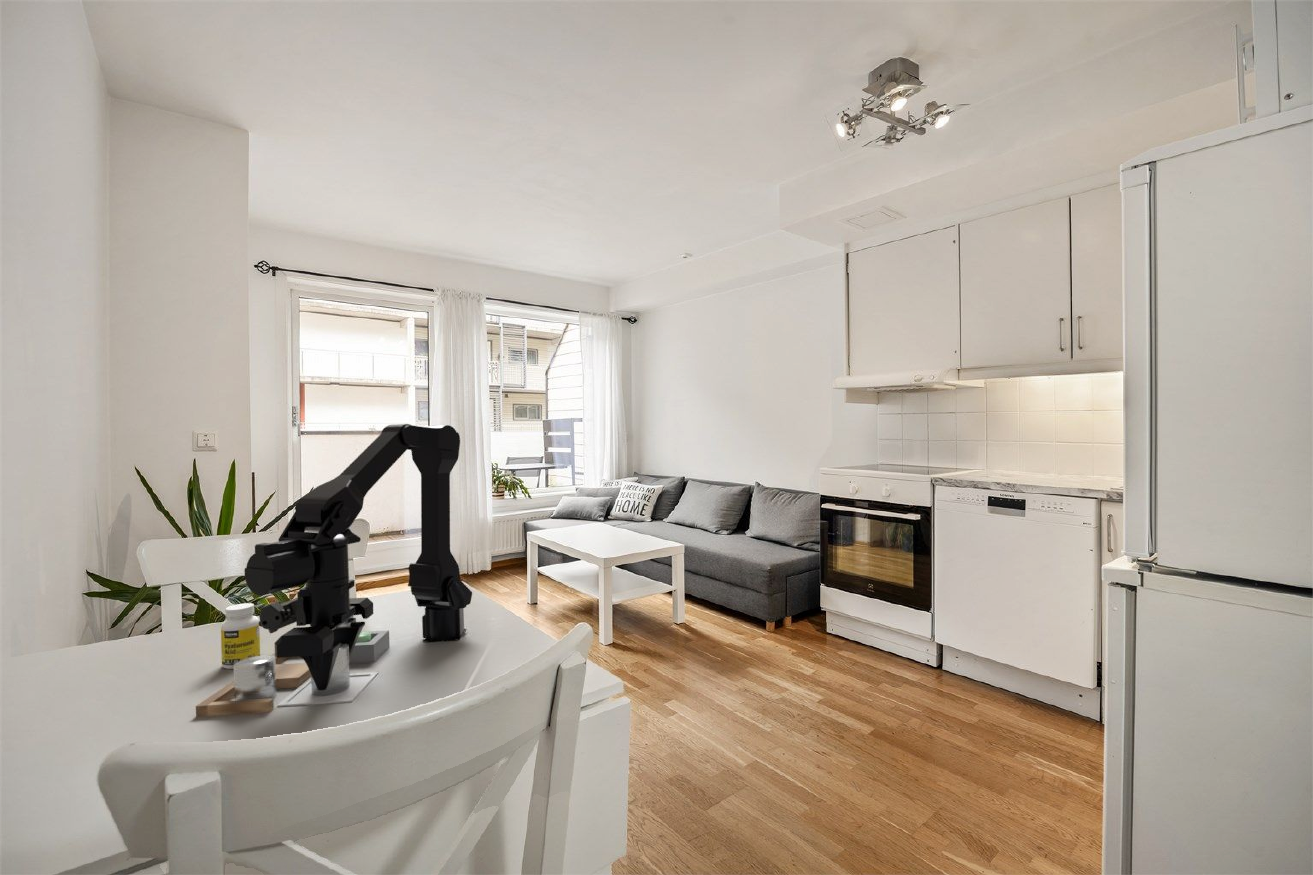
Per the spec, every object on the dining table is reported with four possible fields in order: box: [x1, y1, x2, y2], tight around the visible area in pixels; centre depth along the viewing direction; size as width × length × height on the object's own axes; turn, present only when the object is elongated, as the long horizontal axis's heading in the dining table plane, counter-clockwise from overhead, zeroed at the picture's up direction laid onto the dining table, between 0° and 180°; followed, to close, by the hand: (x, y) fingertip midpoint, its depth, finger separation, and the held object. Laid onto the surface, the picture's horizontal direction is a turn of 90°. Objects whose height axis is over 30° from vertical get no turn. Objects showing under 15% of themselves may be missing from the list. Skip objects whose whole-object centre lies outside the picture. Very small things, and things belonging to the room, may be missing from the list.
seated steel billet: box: [233, 654, 277, 701], centre depth 86 cm, size 5×5×6 cm
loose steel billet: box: [311, 643, 351, 696], centre depth 88 cm, size 5×5×6 cm
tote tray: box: [276, 671, 379, 708], centre depth 88 cm, size 10×10×1 cm
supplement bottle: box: [220, 602, 261, 670], centre depth 101 cm, size 5×5×10 cm
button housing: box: [349, 630, 390, 665], centre depth 102 cm, size 7×7×4 cm
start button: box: [356, 631, 371, 643], centre depth 102 cm, size 3×3×3 cm
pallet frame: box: [195, 652, 311, 718], centre depth 92 cm, size 10×22×2 cm, turn 5°
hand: (330, 682), depth 88 cm, fingers closed on loose steel billet, 5 cm apart
